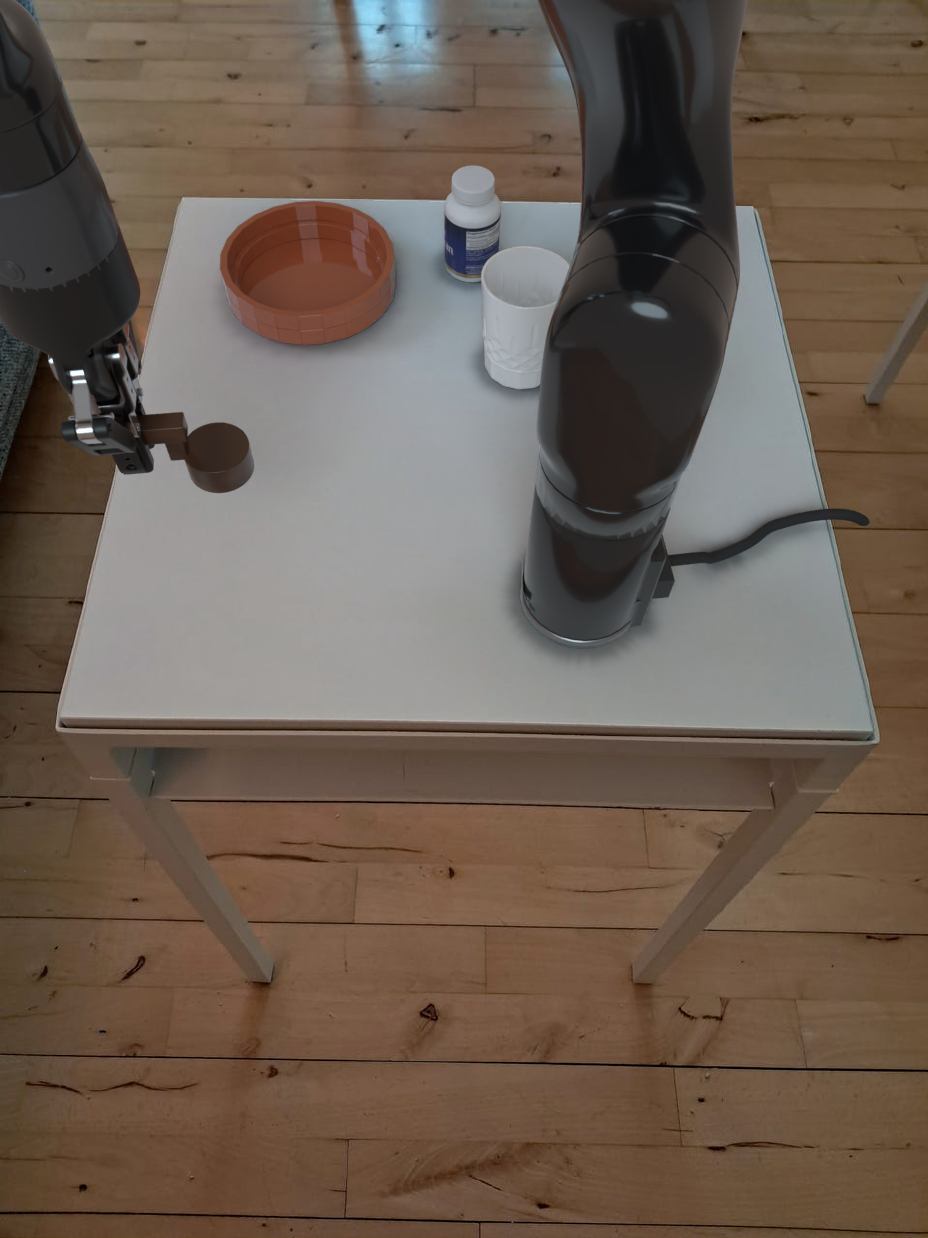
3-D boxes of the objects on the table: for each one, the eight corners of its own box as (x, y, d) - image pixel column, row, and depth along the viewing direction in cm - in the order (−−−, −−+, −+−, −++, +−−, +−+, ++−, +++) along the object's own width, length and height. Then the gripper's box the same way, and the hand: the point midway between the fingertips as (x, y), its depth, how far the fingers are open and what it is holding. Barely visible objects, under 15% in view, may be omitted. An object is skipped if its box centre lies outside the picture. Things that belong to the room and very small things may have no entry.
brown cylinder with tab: (253, 441, 66) (241, 389, 61) (255, 490, 63) (242, 440, 59) (117, 451, 65) (95, 400, 60) (113, 502, 63) (90, 452, 58)
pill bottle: (437, 253, 96) (436, 165, 87) (488, 244, 96) (491, 155, 88) (453, 288, 93) (454, 200, 85) (505, 278, 94) (510, 190, 85)
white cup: (576, 381, 87) (590, 294, 78) (497, 404, 85) (503, 318, 77) (541, 325, 90) (551, 236, 82) (465, 346, 89) (467, 257, 80)
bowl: (389, 230, 97) (387, 196, 94) (401, 342, 89) (400, 309, 86) (229, 240, 96) (221, 205, 93) (227, 354, 88) (218, 321, 84)
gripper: (108, 320, 44) (194, 535, 59) (124, 146, 51) (197, 378, 66) (-56, 333, 44) (73, 547, 59) (-18, 155, 51) (89, 387, 66)
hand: (139, 456), depth 62 cm, fingers closed on brown cylinder with tab, 1 cm apart
